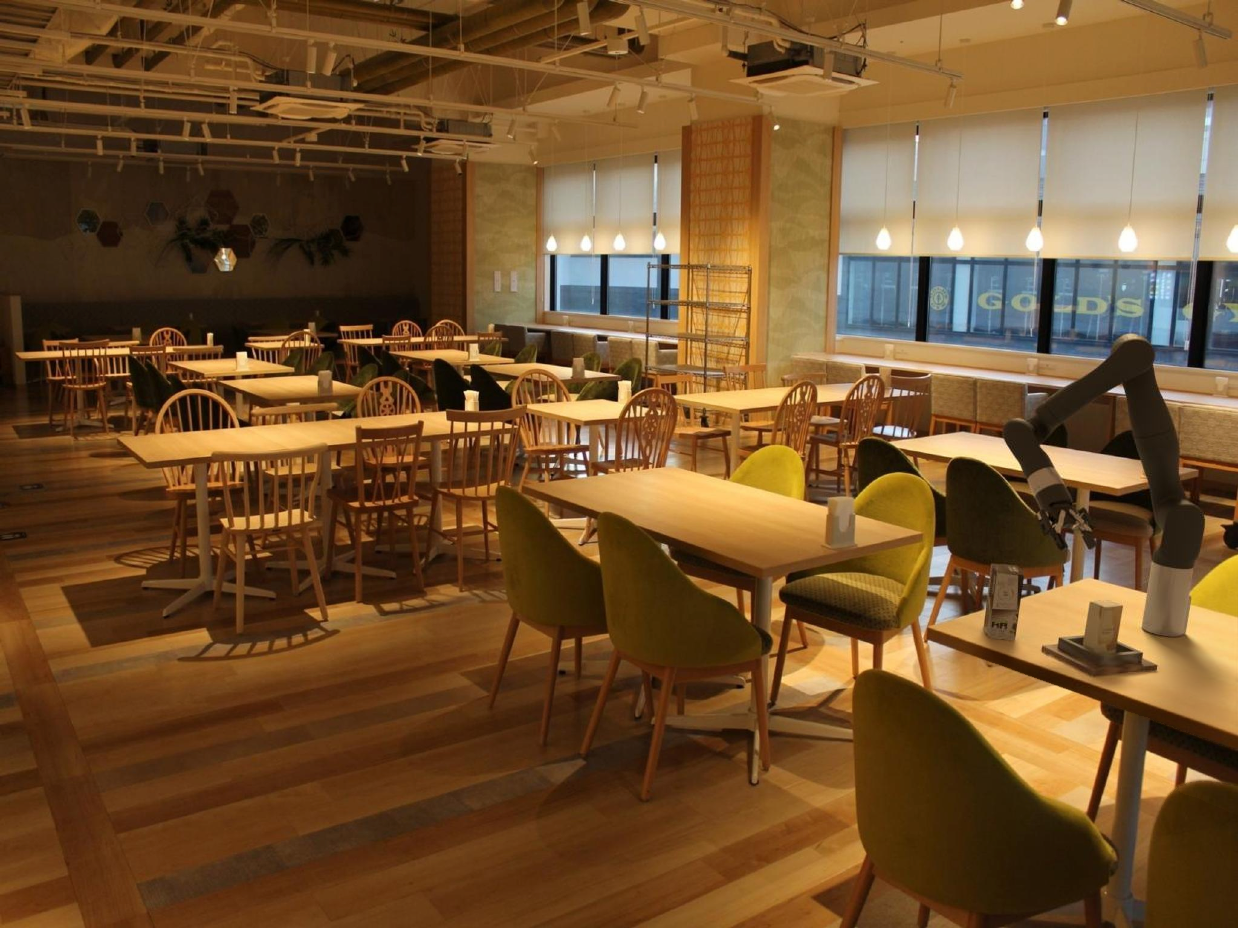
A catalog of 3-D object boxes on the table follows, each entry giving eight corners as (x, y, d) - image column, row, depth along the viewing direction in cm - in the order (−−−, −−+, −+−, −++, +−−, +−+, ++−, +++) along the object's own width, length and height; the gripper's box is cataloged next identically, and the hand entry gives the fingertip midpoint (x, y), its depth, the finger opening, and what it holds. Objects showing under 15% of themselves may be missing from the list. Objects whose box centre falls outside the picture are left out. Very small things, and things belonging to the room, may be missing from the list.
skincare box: (1096, 659, 240) (1104, 607, 237) (1080, 652, 244) (1088, 601, 241) (1116, 656, 243) (1124, 604, 240) (1100, 649, 246) (1108, 598, 244)
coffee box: (1016, 641, 253) (1025, 575, 250) (987, 637, 254) (996, 572, 251) (1010, 628, 261) (1018, 565, 258) (982, 625, 263) (991, 562, 260)
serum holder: (1102, 644, 254) (1104, 630, 253) (1156, 669, 239) (1159, 654, 238) (1041, 650, 247) (1043, 635, 247) (1093, 676, 233) (1096, 660, 232)
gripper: (1035, 483, 255) (1065, 542, 246) (1081, 481, 260) (1112, 539, 252) (1017, 499, 261) (1045, 558, 252) (1062, 497, 266) (1092, 555, 257)
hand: (1078, 548), depth 252 cm, fingers open, 8 cm apart
